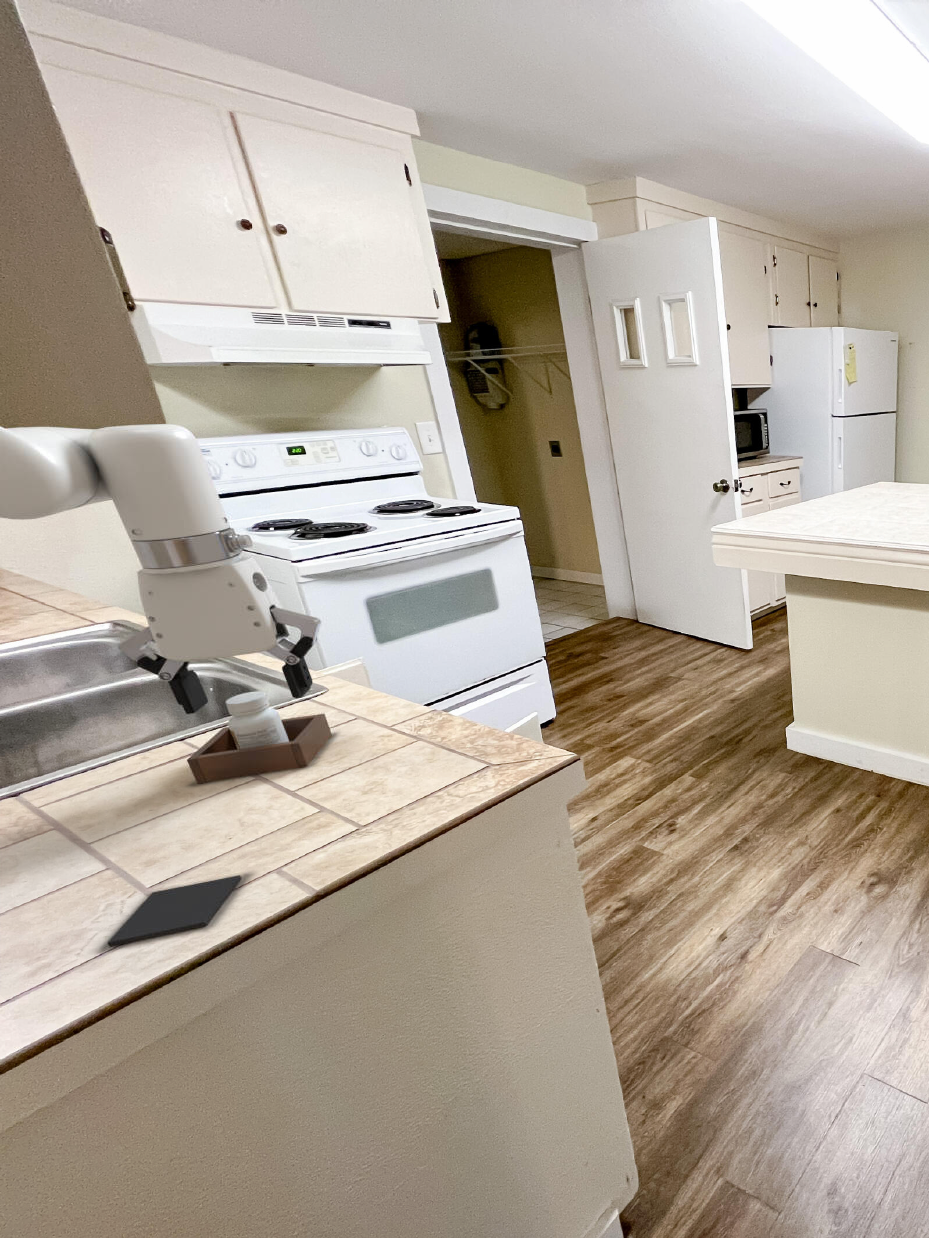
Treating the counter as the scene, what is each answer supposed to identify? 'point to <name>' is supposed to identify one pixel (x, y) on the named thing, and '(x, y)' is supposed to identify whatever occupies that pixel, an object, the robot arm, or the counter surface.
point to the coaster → (176, 910)
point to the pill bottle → (254, 721)
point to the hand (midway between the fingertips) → (251, 700)
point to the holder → (260, 751)
